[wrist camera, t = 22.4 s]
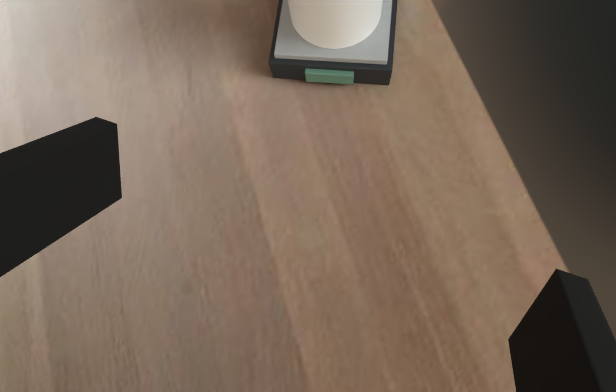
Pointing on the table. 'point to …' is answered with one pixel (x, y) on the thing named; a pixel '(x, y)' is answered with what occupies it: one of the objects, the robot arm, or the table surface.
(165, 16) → the table surface
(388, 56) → the scale
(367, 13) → the cup
